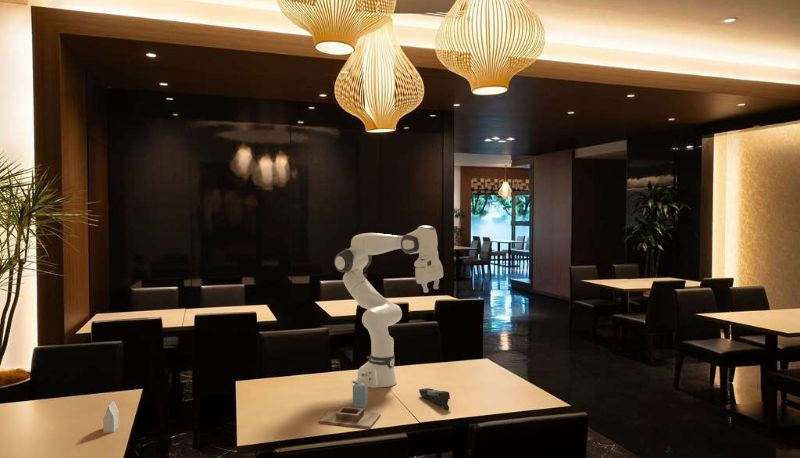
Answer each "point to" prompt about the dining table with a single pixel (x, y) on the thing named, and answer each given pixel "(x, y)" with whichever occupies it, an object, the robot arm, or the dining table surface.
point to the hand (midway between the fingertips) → (431, 290)
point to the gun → (436, 396)
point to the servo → (360, 395)
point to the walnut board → (350, 417)
